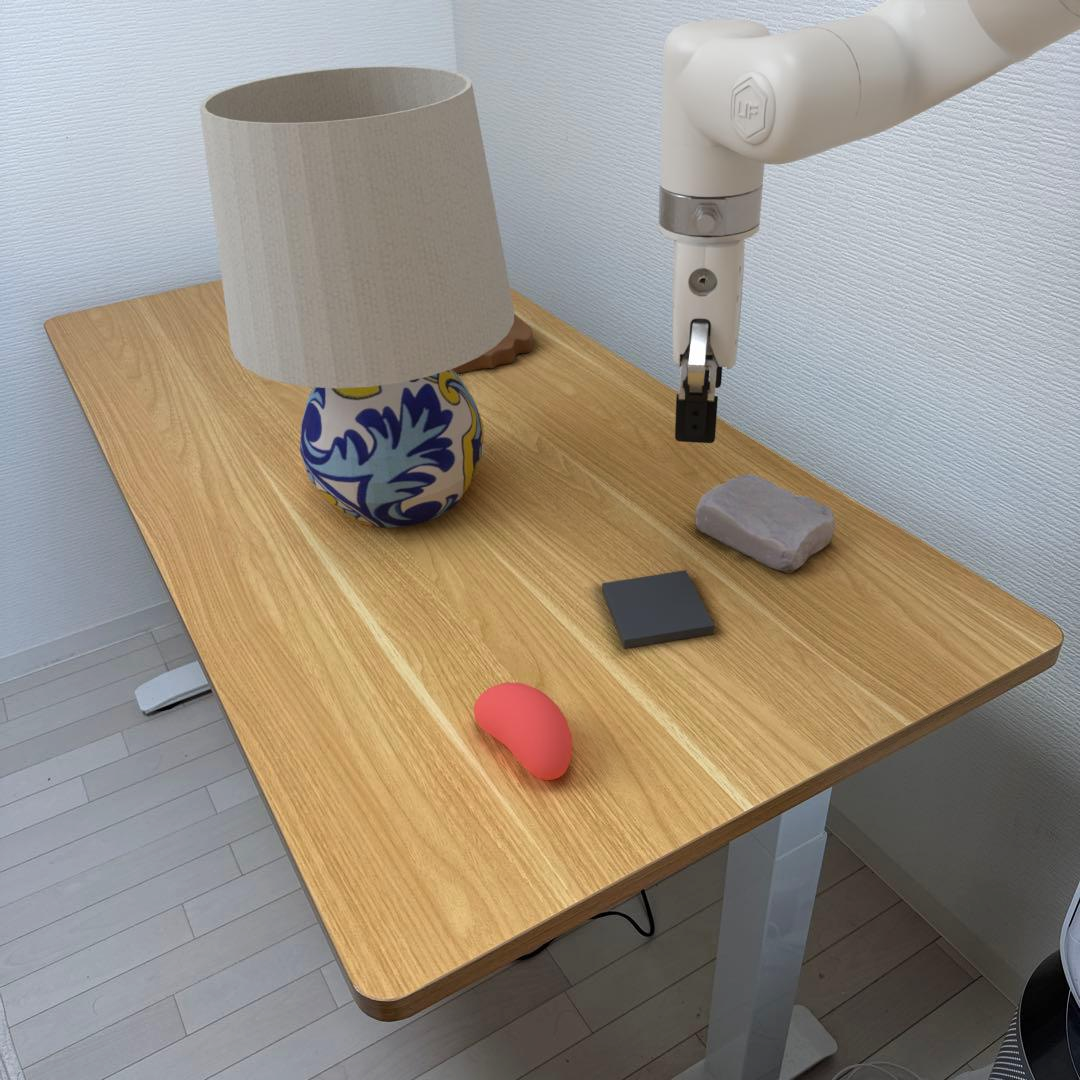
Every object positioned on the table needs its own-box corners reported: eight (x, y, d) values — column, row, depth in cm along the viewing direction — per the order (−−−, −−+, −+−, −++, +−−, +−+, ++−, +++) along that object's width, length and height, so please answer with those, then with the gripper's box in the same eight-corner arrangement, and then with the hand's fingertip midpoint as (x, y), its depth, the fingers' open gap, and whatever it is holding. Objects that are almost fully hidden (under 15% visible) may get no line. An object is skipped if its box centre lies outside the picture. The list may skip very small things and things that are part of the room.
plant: (366, 334, 138) (354, 258, 132) (491, 306, 145) (485, 232, 138) (411, 389, 124) (399, 306, 117) (548, 356, 130) (544, 275, 123)
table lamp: (288, 440, 114) (203, 72, 91) (515, 420, 116) (489, 52, 92) (257, 580, 92) (134, 143, 69) (537, 552, 94) (510, 115, 70)
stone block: (744, 505, 102) (684, 529, 95) (754, 464, 99) (694, 486, 93) (840, 556, 95) (783, 585, 88) (854, 513, 92) (796, 539, 86)
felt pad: (685, 578, 89) (686, 569, 89) (713, 634, 83) (714, 625, 82) (601, 591, 89) (601, 583, 88) (624, 648, 82) (624, 640, 82)
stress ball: (547, 711, 78) (506, 656, 76) (601, 750, 70) (557, 690, 68) (500, 754, 77) (456, 700, 75) (549, 800, 69) (502, 741, 67)
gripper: (758, 249, 64) (740, 467, 74) (762, 176, 78) (746, 369, 88) (646, 247, 66) (643, 462, 76) (669, 175, 79) (664, 366, 89)
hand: (699, 412), depth 82 cm, fingers open, 9 cm apart
